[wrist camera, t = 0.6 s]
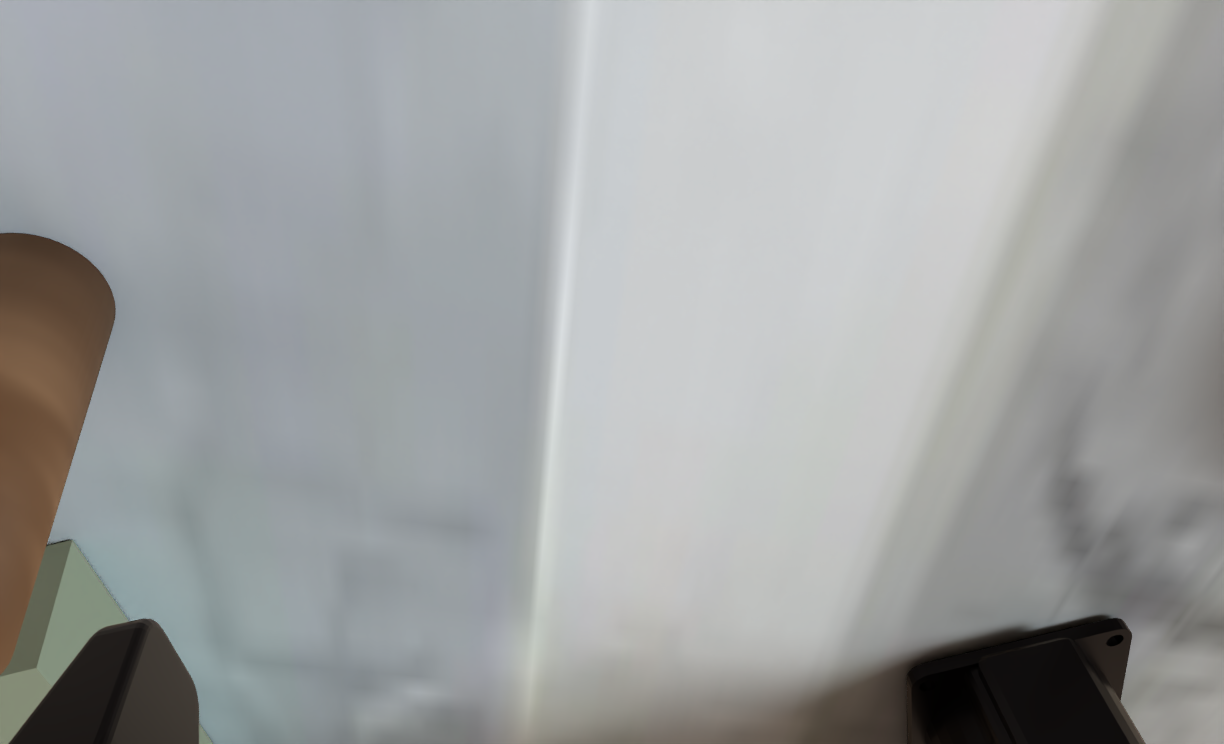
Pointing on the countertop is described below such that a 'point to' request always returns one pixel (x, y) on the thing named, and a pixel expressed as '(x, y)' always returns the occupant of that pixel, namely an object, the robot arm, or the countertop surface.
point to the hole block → (55, 633)
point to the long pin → (41, 399)
